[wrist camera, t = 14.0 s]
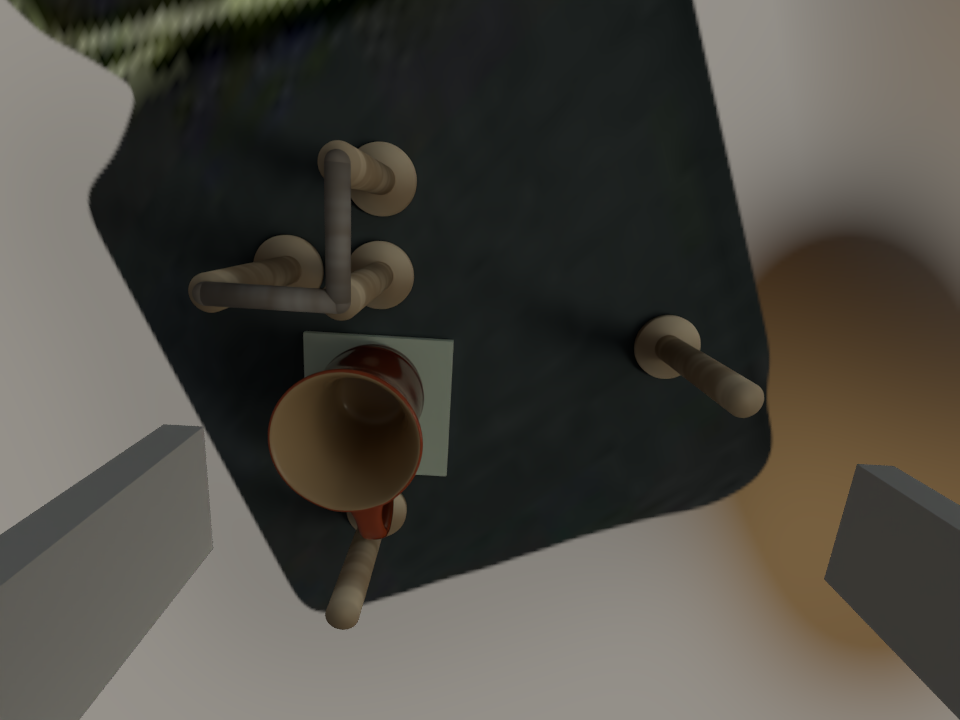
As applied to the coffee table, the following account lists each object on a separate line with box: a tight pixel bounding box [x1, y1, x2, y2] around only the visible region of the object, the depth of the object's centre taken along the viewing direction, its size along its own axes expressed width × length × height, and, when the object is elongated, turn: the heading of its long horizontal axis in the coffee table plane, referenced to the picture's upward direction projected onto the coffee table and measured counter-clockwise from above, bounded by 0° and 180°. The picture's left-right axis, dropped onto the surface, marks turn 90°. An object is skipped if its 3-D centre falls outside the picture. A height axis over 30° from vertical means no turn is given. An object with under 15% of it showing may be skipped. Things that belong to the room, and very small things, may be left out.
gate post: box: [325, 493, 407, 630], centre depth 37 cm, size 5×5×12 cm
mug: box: [268, 344, 424, 540], centre depth 35 cm, size 12×9×10 cm
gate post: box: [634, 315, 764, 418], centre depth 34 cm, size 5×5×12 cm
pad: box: [303, 331, 454, 476], centre depth 40 cm, size 11×11×1 cm
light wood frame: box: [188, 140, 417, 320], centre depth 31 cm, size 11×11×13 cm
